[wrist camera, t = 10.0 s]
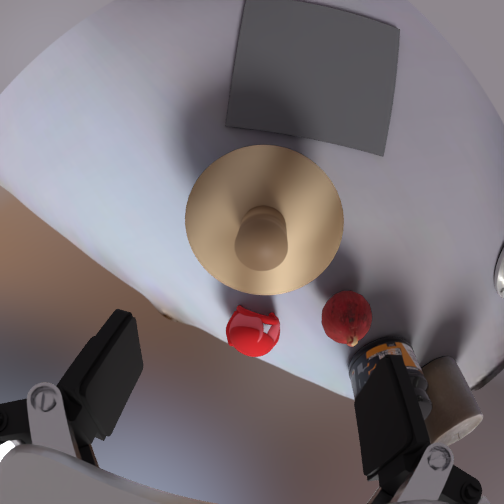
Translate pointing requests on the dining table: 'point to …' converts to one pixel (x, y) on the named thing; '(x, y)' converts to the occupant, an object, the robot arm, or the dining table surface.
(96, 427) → the robot arm
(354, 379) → the supplement container
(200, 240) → the lid
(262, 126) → the mat
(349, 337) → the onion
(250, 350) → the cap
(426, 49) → the dining table surface
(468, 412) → the pillar candle
